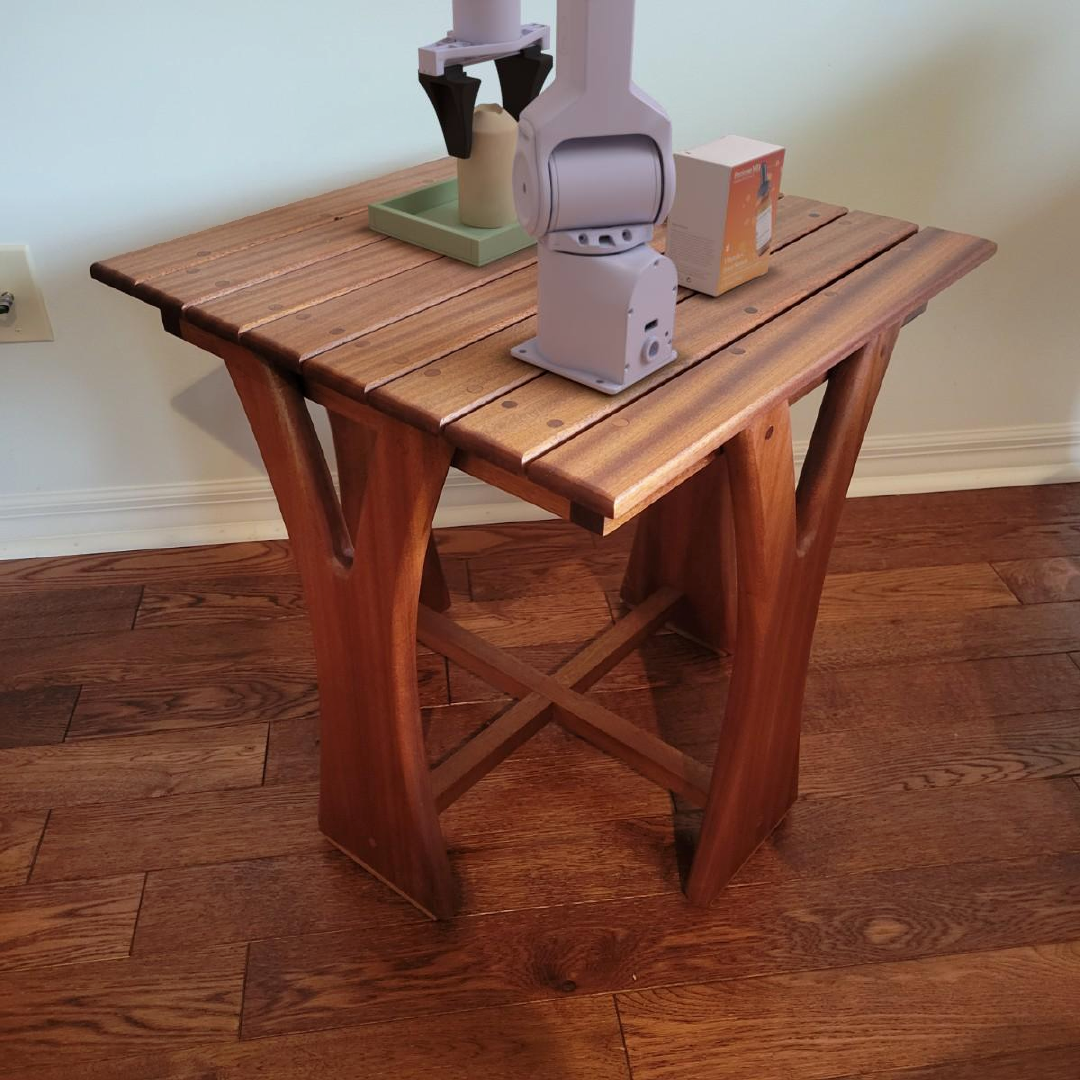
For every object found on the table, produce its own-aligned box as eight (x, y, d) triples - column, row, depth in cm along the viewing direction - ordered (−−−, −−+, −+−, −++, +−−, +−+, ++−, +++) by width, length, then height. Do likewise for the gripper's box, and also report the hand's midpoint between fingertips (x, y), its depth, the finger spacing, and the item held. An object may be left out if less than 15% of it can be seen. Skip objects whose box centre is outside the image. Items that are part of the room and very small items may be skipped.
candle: (510, 231, 99) (510, 116, 93) (451, 226, 100) (448, 112, 94) (523, 211, 104) (524, 100, 98) (467, 206, 105) (464, 96, 99)
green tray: (604, 215, 104) (605, 190, 103) (478, 267, 93) (478, 240, 92) (498, 184, 111) (497, 161, 110) (369, 229, 100) (367, 204, 99)
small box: (715, 299, 88) (730, 167, 82) (660, 280, 91) (670, 151, 85) (770, 272, 93) (788, 145, 87) (715, 255, 96) (729, 131, 90)
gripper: (508, -37, 97) (508, 122, 105) (388, -17, 88) (398, 155, 96) (570, -27, 93) (565, 137, 101) (451, -6, 84) (457, 172, 92)
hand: (488, 147), depth 98 cm, fingers open, 7 cm apart
